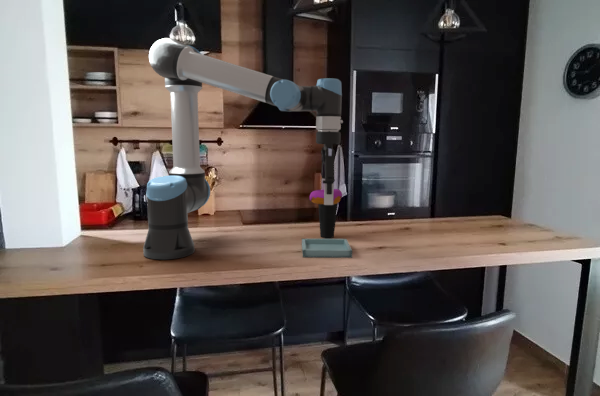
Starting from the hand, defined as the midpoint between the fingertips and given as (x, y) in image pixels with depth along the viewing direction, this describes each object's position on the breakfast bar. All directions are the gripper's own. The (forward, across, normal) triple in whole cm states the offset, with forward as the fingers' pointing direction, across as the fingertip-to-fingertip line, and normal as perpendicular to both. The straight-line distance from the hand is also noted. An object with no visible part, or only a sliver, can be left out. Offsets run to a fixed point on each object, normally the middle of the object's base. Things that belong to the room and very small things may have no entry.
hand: (326, 201), depth 132 cm
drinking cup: (+16, +18, -2) cm, 24 cm away
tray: (+16, 0, 0) cm, 16 cm away
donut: (+1, 0, 0) cm, 1 cm away
